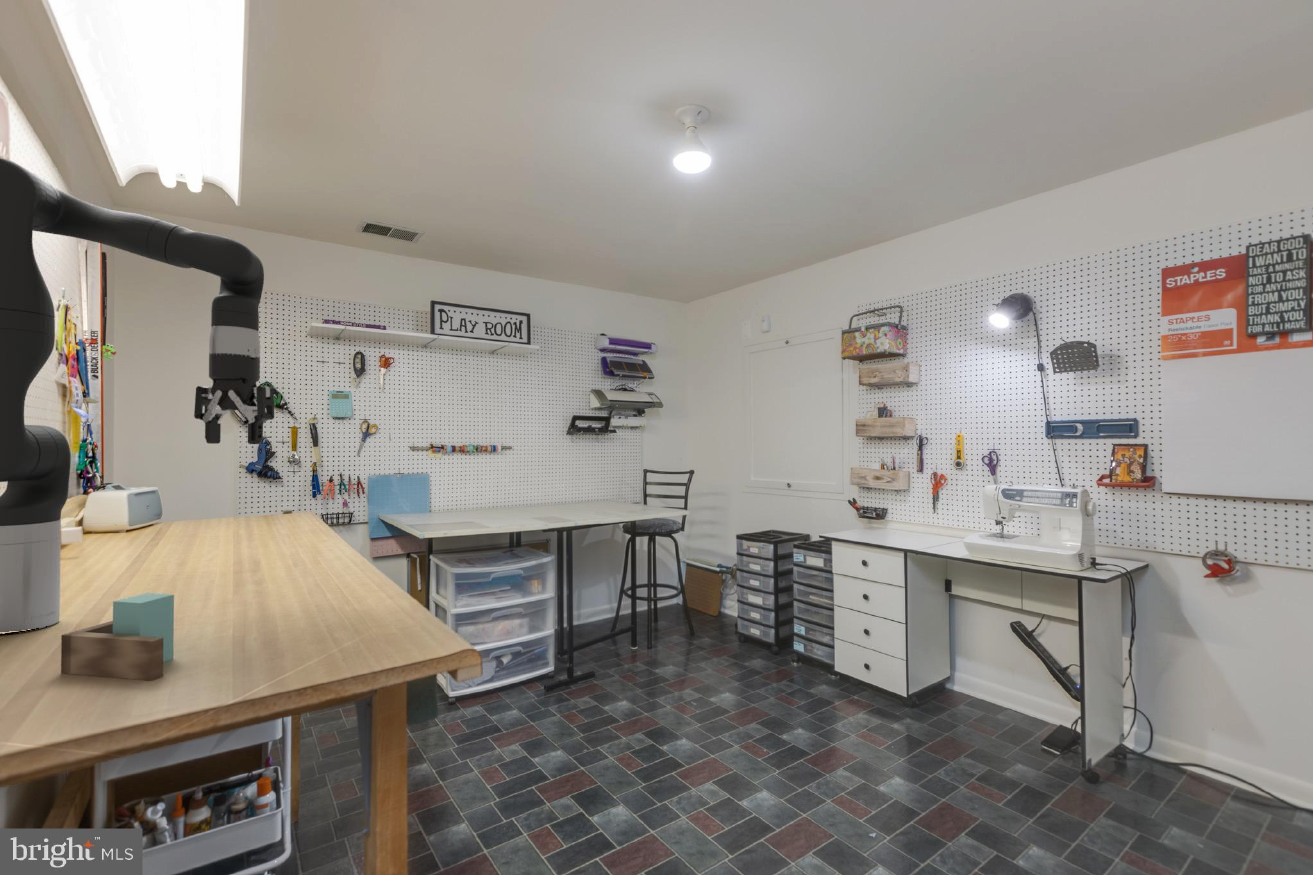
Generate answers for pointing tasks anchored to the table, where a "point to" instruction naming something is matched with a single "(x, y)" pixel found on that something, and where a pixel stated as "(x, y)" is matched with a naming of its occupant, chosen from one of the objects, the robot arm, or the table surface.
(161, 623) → the teal block
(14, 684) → the table surface
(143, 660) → the walnut corner
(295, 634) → the table surface
